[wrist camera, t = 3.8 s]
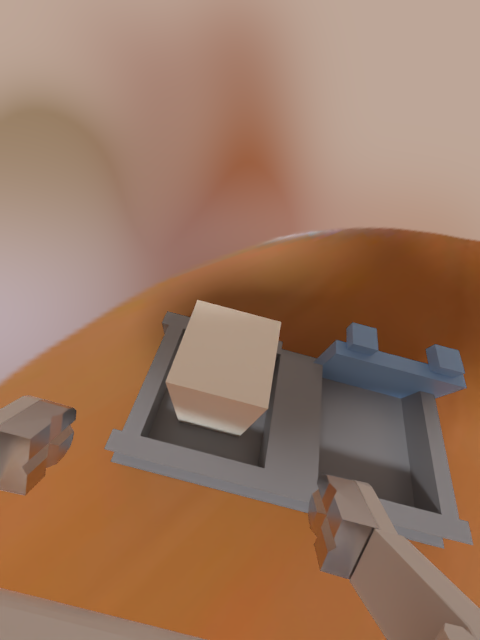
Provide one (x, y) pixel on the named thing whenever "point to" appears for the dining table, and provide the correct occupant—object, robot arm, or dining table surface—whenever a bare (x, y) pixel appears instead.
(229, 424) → the white rectangular block
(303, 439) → the two-compartment grey tray
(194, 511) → the dining table surface
